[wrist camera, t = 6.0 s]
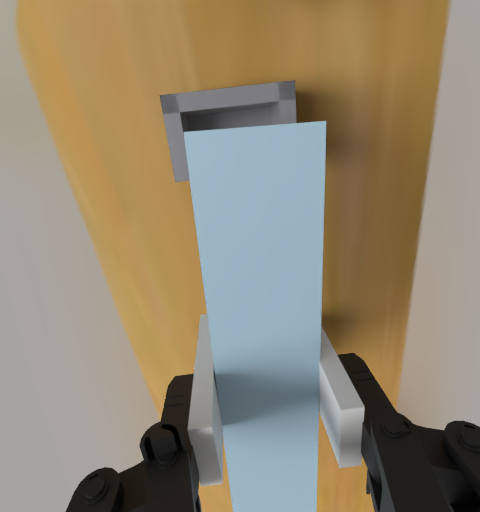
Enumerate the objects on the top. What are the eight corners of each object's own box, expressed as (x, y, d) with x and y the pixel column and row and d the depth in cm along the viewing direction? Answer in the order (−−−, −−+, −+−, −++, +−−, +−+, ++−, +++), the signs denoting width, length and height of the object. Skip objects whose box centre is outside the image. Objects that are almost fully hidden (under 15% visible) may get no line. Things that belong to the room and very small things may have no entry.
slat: (196, 134, 13) (183, 131, 8) (289, 127, 13) (326, 120, 8) (234, 456, 20) (238, 551, 16) (294, 450, 20) (315, 542, 16)
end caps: (171, 103, 22) (159, 95, 18) (281, 90, 22) (295, 80, 18) (216, 363, 31) (215, 400, 27) (293, 354, 31) (305, 389, 27)
